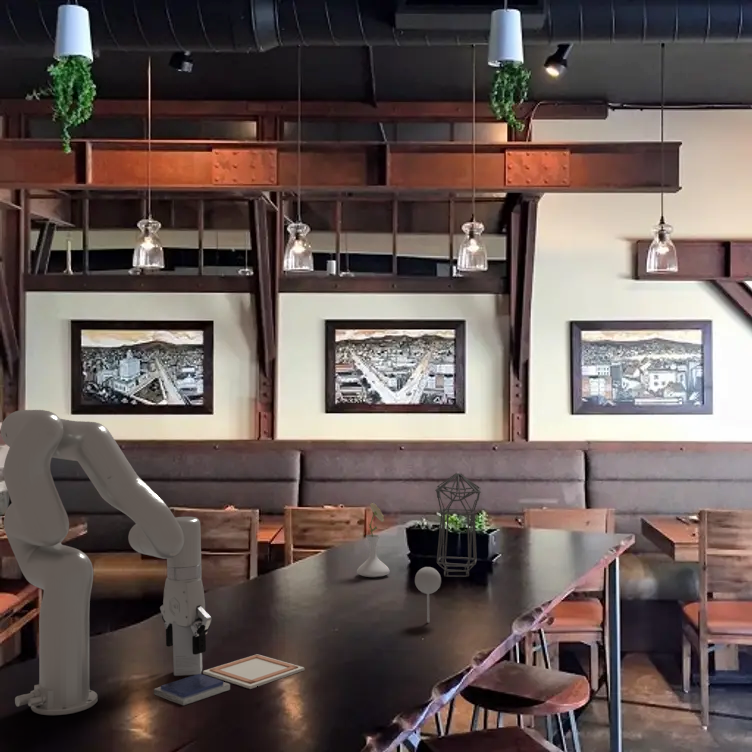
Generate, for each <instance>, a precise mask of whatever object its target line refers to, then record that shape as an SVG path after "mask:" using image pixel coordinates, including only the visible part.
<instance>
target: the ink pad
mask: <svg viewBox="0 0 752 752" xmlns="http://www.w3.org/2000/svg"><path fill="white" fill-rule="evenodd" d="M230 690H231V683H230V682H227V681H225V682H224V680H221V679H218V678H215V677H212V676H209V675H206V674H202V673H201V674H197V675H189V676H188V677H185V678H182V679H181V678H180V679H179V680H176V681H172V682H169V683H166V684H165V683H164V684H162V685H160V686H159V687H155V688H153V695H154V696H157V697H159V698H162V699H166V700H168V701H170V702H172V703H175V704H178V705H181V706H187V705H189V704H192V703H196V702H198V701H201V700H204V699H207V698H210V697H213V696H215V695H219V694H221V693H224V692H227V691H230Z"/></svg>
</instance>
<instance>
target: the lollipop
mask: <svg viewBox="0 0 752 752" xmlns="http://www.w3.org/2000/svg"><path fill="white" fill-rule="evenodd" d="M414 576H415V577H414V584H415V586H416V588H417V589H418V591H420V592H421V593H422V594H426V623H428V624H429V623H430V621H431V620H430V594H433V593H436V592H437V591H438V589H440V588H441V584H442V577H441V574H440V573H439V571H438V570H437V569H436V568H434V567H431V566H424V567H422V568H420V569H419V570H417V572H416V574H415V575H414Z"/></svg>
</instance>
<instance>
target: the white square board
mask: <svg viewBox="0 0 752 752" xmlns="http://www.w3.org/2000/svg"><path fill="white" fill-rule="evenodd" d="M303 671H306V669H305V667H304V666H301V665H298V664H294V663H289V662H287V661H283V660H280V659H276V658H273V657H270V656H265V655H261V654H257V653H256V654H254V655H250V656H247V657H244V658H240V659H237V660H234V661H231V662H228V663H224V664H221V665H217V666H214V667H211V668H208V669H205V670H202V673H203V674H202V675H205V676H209V677H212V678H215V679H218V680H221V681H223V682H224V681H225V682H226V683H229V684H234V685H237V686H240V687H242V688H246V689H249V690H251V689H255V688H257V686H258V687H261V686H264V685H265V684H269V683H271V682H275V681H278V680H280V679H284V678H286V677H289V676H291V675H296V674H298V673H301V672H303Z"/></svg>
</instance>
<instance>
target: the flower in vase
mask: <svg viewBox="0 0 752 752" xmlns="http://www.w3.org/2000/svg"><path fill="white" fill-rule="evenodd" d="M369 506H370V509H371V511H372V513H373V515H372V518H371V521H370V523H368V525H369V528H370V532H371V533H370V534H366V535H365V537H366V539H367V541H368V545H369V556H368V558H367V559H366V560H365V561H364V562H363V563H362V564H361V565H360V566H359V567H358V568H356V569H357V570H356V573H357V574H358V575H360V576H362V577H366V578H367V577H368V578H379V577H384V576H386V575H388V574H389V573H390V568H389V567H388V566H387V565H386V564H385V563H384V562H383V561H381V560H380V559H379V557H378V555H377V545H378V541H379V539H380V537H381V535H380V534H373V532H374V531H375V530H377V529H378V527H377V526H376V525H375V526H374V527H373V529H372V523H373V521H374V520H373V519H374V517H376V518H377V520H379V521H380V522H381V523H383V522H385V519H384V517H385V515H383V512H382V510H381V508H379V507H378V505H377V504H376V503H374V502H371V503H370V504H369Z"/></svg>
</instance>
